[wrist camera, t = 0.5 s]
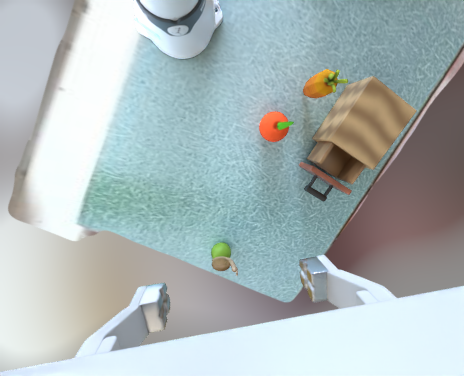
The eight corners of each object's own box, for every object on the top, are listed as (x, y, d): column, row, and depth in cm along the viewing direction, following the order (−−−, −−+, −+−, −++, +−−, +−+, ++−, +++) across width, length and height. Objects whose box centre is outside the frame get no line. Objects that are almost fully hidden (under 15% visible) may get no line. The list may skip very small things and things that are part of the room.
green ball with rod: (233, 255, 63) (237, 283, 51) (211, 256, 62) (210, 284, 51) (234, 238, 61) (239, 263, 50) (211, 238, 61) (211, 263, 49)
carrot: (318, 91, 53) (358, 75, 39) (304, 106, 54) (338, 97, 40) (305, 76, 52) (340, 54, 38) (291, 92, 53) (320, 77, 38)
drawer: (323, 201, 60) (337, 210, 53) (288, 180, 57) (299, 186, 50) (364, 142, 57) (386, 144, 50) (329, 117, 54) (347, 115, 47)
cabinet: (349, 164, 59) (373, 169, 50) (311, 138, 56) (330, 139, 47) (384, 114, 56) (416, 110, 47) (347, 85, 54) (373, 75, 45)
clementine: (285, 108, 54) (295, 105, 47) (289, 136, 56) (300, 136, 49) (254, 116, 54) (260, 114, 47) (259, 144, 55) (266, 145, 49)
